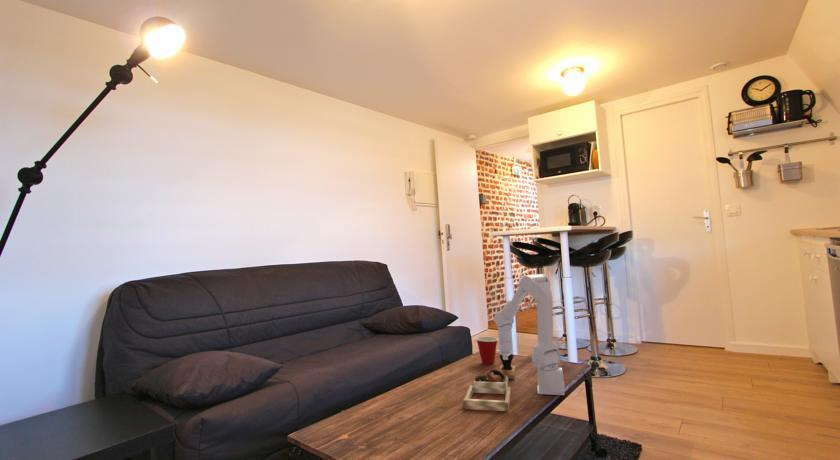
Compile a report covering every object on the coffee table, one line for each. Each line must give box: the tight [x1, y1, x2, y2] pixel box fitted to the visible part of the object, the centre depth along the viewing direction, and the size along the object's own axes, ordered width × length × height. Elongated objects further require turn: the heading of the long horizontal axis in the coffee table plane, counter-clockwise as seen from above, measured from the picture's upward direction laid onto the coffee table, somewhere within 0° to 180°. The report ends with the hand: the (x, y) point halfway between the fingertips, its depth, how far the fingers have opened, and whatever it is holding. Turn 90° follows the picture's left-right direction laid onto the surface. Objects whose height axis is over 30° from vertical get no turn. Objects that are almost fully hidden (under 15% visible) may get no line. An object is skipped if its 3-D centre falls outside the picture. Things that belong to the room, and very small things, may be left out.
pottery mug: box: [474, 368, 505, 382], centre depth 152 cm, size 12×10×8 cm
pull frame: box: [472, 365, 516, 395], centre depth 159 cm, size 15×23×4 cm, turn 164°
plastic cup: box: [475, 336, 499, 366], centre depth 188 cm, size 11×11×12 cm
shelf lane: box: [462, 384, 512, 412], centre depth 142 cm, size 15×16×3 cm
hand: (507, 372), depth 167 cm, fingers closed
